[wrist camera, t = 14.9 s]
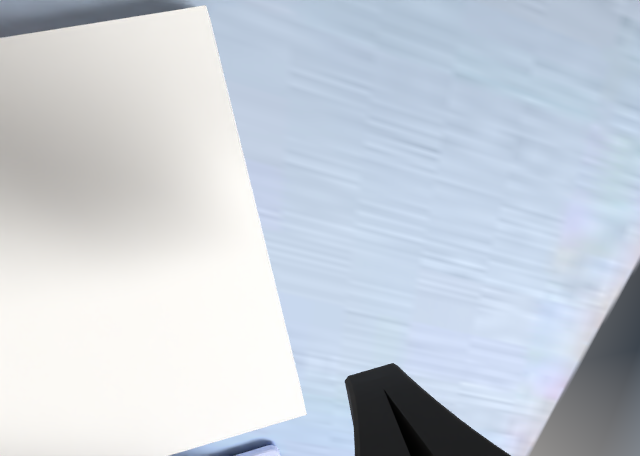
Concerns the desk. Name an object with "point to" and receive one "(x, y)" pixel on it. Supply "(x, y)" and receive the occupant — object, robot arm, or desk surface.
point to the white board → (131, 247)
